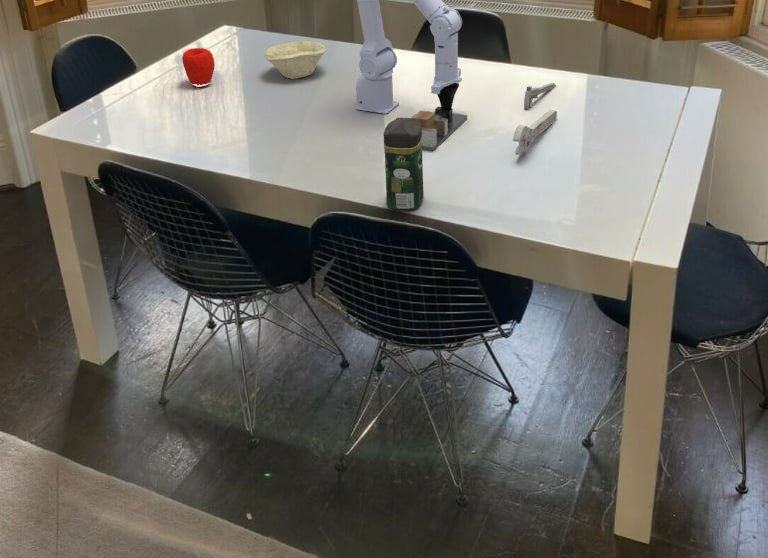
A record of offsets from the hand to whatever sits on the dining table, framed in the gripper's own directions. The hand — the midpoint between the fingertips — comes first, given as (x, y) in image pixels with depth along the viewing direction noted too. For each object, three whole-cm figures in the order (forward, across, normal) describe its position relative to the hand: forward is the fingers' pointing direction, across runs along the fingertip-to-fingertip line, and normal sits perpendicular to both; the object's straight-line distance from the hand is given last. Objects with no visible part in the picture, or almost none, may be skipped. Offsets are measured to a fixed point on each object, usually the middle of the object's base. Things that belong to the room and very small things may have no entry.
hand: (446, 111), depth 240 cm
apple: (+3, -1, +78) cm, 78 cm away
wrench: (+3, -3, -25) cm, 26 cm away
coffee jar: (+3, -46, -10) cm, 47 cm away
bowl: (+3, +17, +55) cm, 58 cm away
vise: (+3, -8, 0) cm, 8 cm away
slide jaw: (+2, -6, 0) cm, 6 cm away
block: (+2, -14, 0) cm, 14 cm away
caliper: (+3, +25, -17) cm, 30 cm away
